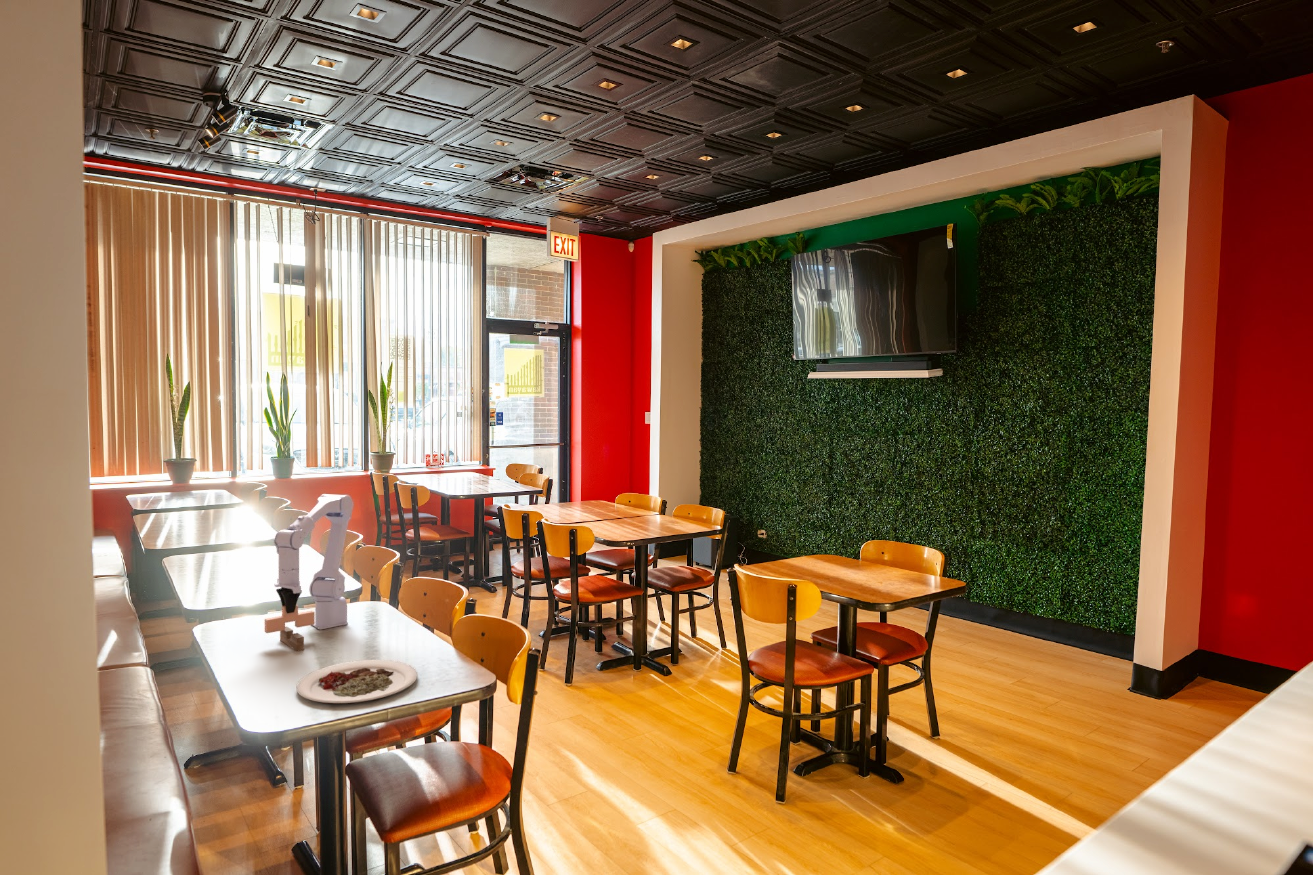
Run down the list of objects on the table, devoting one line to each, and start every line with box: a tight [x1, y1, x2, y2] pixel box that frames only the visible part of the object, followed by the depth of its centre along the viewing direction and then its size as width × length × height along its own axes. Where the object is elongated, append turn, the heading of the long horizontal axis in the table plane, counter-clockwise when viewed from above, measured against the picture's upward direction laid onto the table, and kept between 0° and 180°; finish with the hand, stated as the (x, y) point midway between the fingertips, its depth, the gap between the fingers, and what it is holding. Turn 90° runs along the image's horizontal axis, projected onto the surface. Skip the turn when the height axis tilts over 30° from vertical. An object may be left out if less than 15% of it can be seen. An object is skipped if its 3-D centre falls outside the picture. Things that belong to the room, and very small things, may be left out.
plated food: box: [296, 659, 418, 704], centre depth 198 cm, size 30×30×3 cm
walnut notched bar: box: [279, 626, 305, 652], centre depth 229 cm, size 2×14×4 cm, turn 46°
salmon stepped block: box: [264, 604, 315, 634], centre depth 230 cm, size 14×2×7 cm, turn 135°
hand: (288, 611), depth 230 cm, fingers closed on salmon stepped block, 2 cm apart
